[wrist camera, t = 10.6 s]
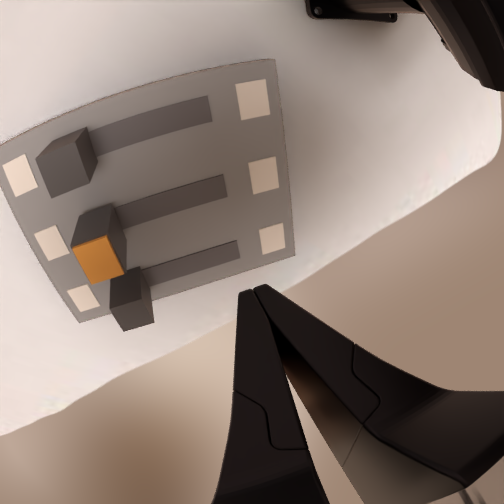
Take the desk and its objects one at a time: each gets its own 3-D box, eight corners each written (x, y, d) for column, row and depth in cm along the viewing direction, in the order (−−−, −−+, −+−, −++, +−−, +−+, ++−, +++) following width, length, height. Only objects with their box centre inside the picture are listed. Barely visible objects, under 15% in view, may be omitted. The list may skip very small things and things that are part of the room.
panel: (266, 59, 15) (300, 61, 12) (288, 245, 23) (314, 282, 20) (-5, 147, 13) (-37, 174, 9) (80, 311, 21) (76, 356, 17)
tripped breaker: (112, 203, 16) (107, 234, 13) (126, 240, 17) (126, 275, 15) (79, 215, 15) (69, 248, 13) (95, 250, 17) (90, 286, 14)
